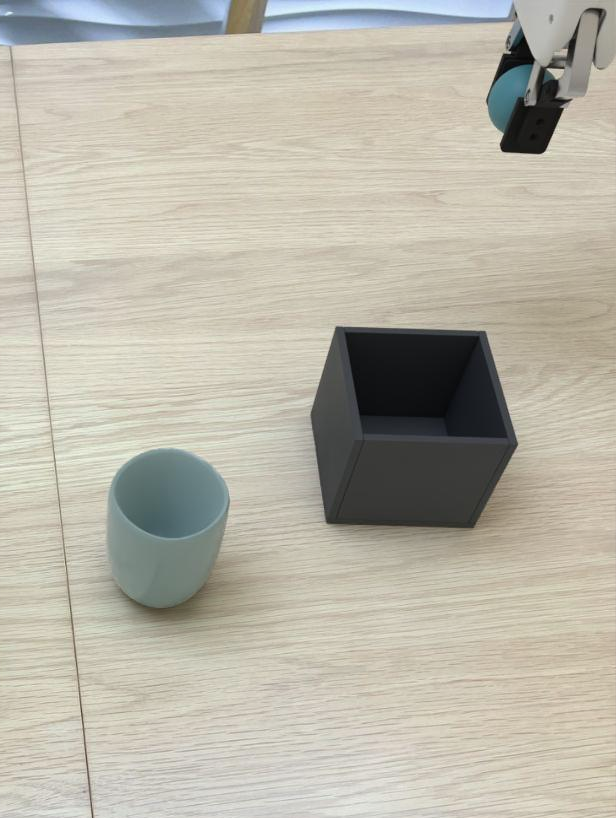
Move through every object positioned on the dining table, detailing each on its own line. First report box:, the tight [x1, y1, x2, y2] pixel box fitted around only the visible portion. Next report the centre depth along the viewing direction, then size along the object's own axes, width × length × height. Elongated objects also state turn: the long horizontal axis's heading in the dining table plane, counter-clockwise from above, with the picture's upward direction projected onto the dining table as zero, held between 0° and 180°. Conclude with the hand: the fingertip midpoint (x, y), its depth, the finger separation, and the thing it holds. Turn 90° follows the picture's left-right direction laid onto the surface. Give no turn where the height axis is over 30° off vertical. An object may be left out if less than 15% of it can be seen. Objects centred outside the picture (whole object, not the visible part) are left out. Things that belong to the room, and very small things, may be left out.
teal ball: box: [487, 65, 557, 134], centre depth 78 cm, size 5×5×5 cm
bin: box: [310, 325, 519, 529], centre depth 82 cm, size 11×11×10 cm
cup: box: [105, 447, 231, 609], centre depth 75 cm, size 8×8×10 cm
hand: (514, 126), depth 79 cm, fingers closed on teal ball, 4 cm apart
